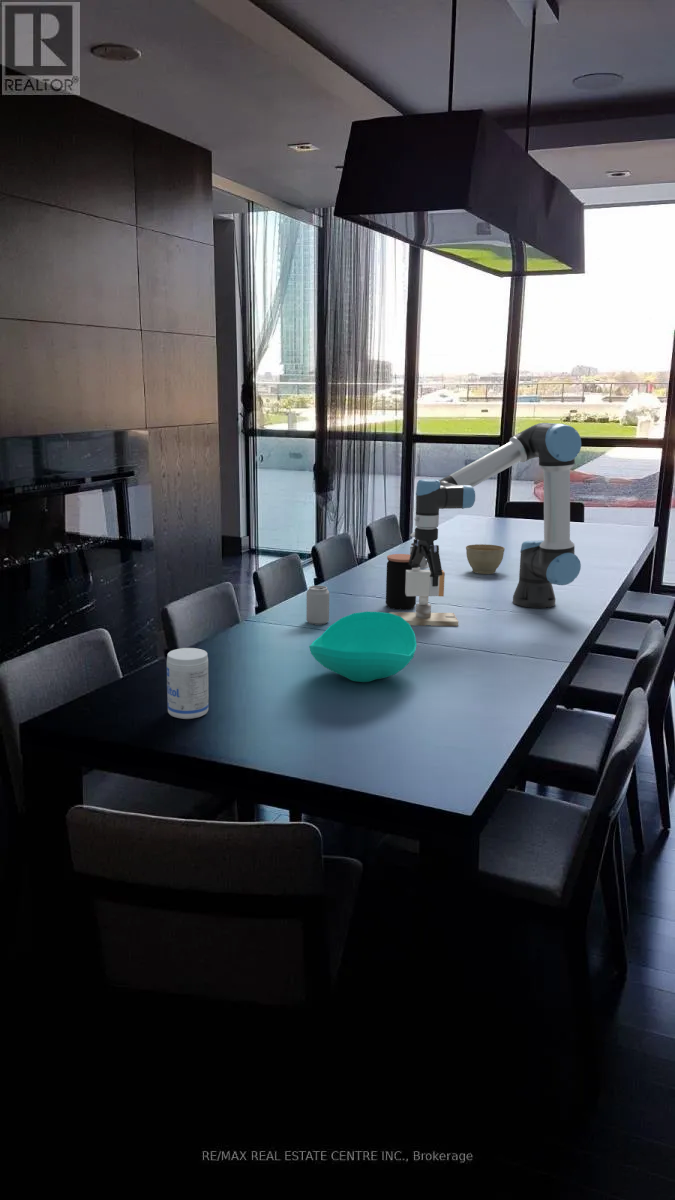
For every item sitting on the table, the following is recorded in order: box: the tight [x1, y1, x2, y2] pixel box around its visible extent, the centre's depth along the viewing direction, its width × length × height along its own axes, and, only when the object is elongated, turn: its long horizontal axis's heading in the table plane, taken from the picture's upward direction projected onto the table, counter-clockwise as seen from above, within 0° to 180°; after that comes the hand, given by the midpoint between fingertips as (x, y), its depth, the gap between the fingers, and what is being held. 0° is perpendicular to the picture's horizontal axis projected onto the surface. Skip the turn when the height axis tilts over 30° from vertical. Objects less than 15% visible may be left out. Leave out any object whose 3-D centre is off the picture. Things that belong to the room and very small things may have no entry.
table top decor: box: [309, 611, 418, 683], centre depth 228 cm, size 40×28×13 cm
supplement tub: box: [166, 647, 209, 720], centre depth 201 cm, size 10×10×15 cm
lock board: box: [388, 603, 459, 627], centre depth 286 cm, size 22×11×6 cm, turn 90°
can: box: [305, 585, 330, 626], centre depth 282 cm, size 8×8×12 cm
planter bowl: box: [465, 543, 505, 575], centre depth 364 cm, size 16×16×11 cm
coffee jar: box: [385, 553, 417, 611], centre depth 303 cm, size 11×11×18 cm
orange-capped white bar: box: [405, 569, 446, 605], centre depth 284 cm, size 4×12×11 cm, turn 93°
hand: (424, 591), depth 284 cm, fingers open, 13 cm apart
